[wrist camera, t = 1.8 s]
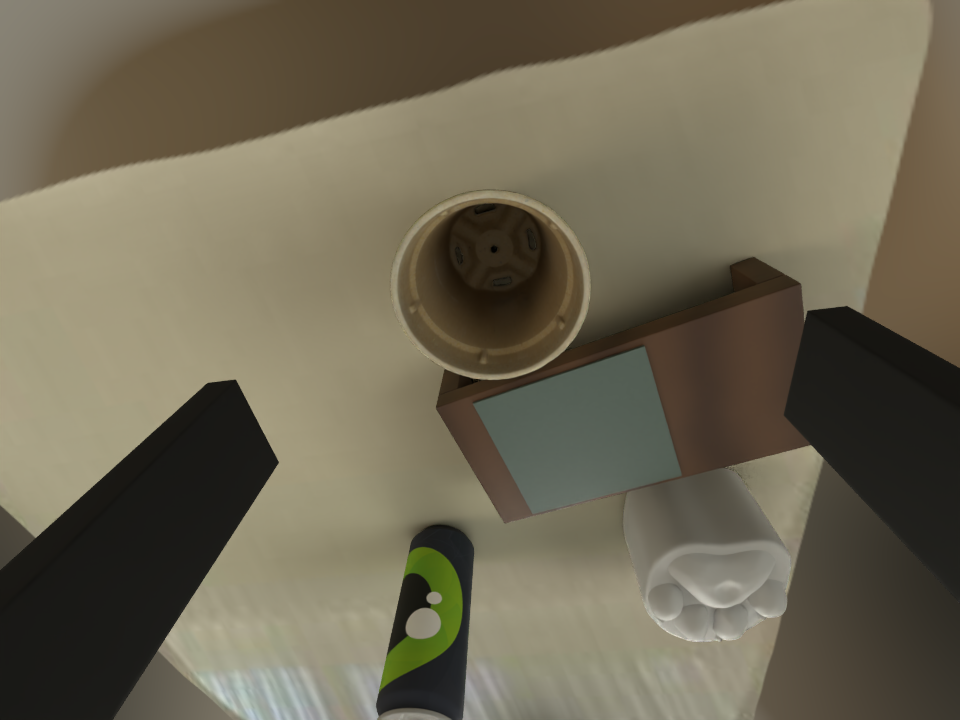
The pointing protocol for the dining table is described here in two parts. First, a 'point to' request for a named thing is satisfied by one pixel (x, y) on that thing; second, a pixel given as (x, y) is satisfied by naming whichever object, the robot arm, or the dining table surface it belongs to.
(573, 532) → the dining table surface
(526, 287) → the flower pot
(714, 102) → the dining table surface
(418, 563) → the beverage can
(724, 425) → the teal-inset wooden board
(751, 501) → the lumpy-topped squat cylinder
